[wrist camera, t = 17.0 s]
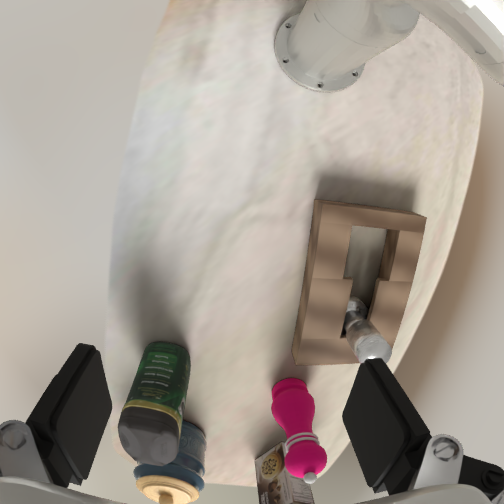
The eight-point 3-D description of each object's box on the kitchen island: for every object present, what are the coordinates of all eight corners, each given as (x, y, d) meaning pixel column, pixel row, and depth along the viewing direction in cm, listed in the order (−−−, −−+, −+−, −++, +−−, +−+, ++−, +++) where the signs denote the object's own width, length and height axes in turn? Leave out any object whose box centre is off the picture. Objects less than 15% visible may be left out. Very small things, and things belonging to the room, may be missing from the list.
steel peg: (333, 295, 45) (361, 338, 34) (367, 296, 46) (402, 336, 34) (325, 329, 47) (349, 377, 36) (359, 329, 48) (389, 373, 36)
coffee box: (275, 466, 58) (283, 523, 43) (253, 459, 57) (259, 519, 42) (302, 448, 57) (316, 507, 41) (281, 440, 55) (292, 503, 40)
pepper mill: (261, 386, 50) (275, 482, 31) (299, 369, 49) (328, 463, 30) (279, 409, 52) (296, 498, 33) (314, 393, 51) (343, 481, 32)
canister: (151, 407, 50) (133, 482, 34) (215, 427, 53) (214, 502, 36) (139, 441, 54) (123, 506, 37) (195, 458, 56) (191, 523, 39)
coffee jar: (143, 335, 45) (109, 420, 28) (192, 343, 46) (177, 434, 29) (145, 380, 48) (120, 463, 31) (189, 387, 49) (178, 474, 31)
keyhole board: (314, 199, 41) (323, 203, 37) (412, 212, 42) (426, 217, 38) (291, 350, 48) (295, 365, 44) (378, 347, 49) (387, 360, 45)
